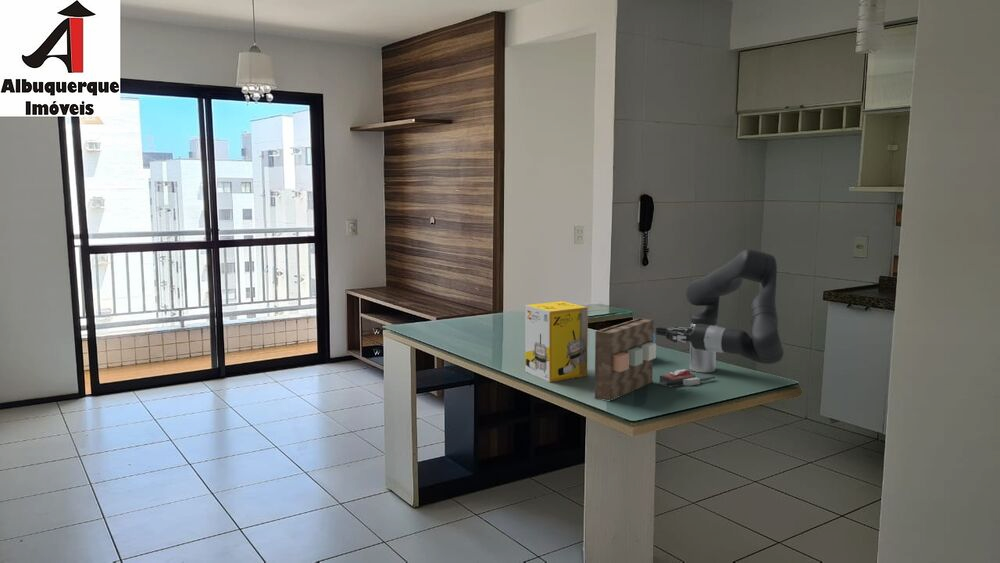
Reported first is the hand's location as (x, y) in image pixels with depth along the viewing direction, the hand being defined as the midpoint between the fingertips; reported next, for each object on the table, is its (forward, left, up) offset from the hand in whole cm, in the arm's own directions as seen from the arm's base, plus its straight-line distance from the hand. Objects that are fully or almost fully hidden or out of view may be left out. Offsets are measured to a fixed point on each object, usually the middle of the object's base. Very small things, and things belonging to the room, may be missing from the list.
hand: (657, 330), depth 217 cm
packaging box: (-11, -46, -24) cm, 53 cm away
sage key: (-9, -13, -14) cm, 22 cm away
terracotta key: (0, -13, -14) cm, 20 cm away
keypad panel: (-9, -16, -24) cm, 30 cm away
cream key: (-18, -13, -14) cm, 27 cm away
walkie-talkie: (-31, -4, -24) cm, 40 cm away
